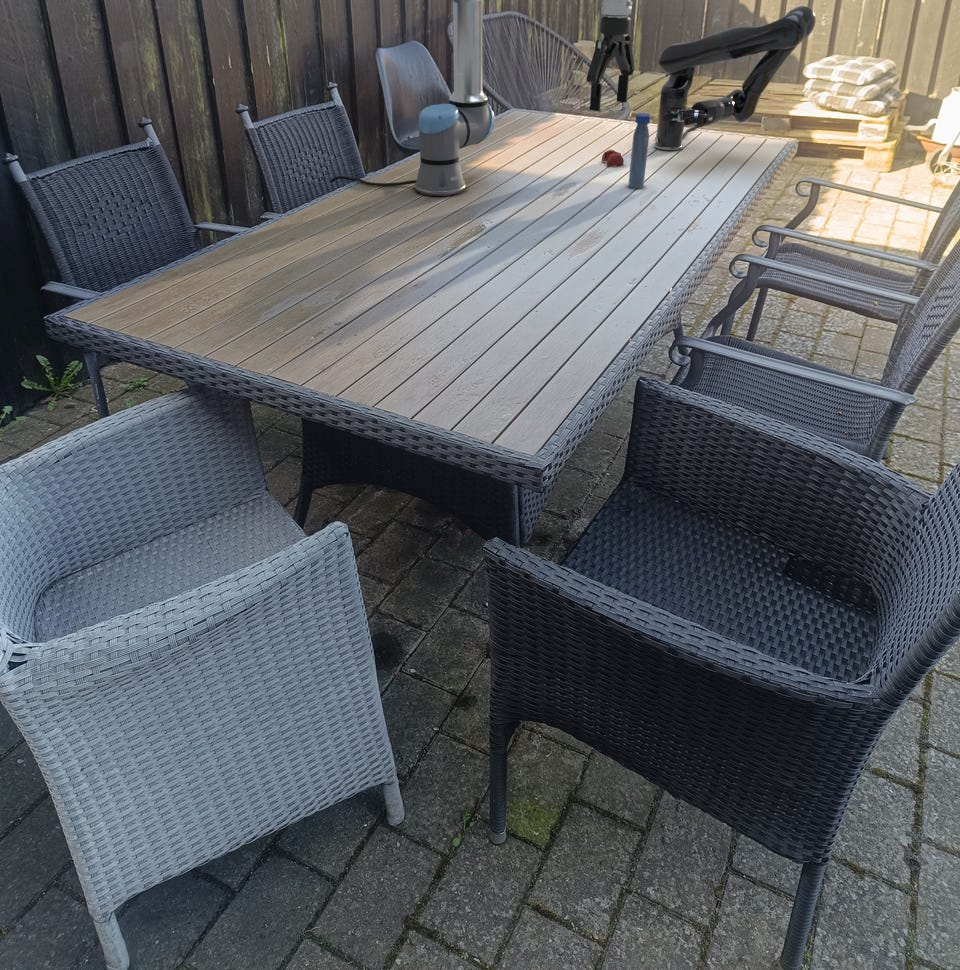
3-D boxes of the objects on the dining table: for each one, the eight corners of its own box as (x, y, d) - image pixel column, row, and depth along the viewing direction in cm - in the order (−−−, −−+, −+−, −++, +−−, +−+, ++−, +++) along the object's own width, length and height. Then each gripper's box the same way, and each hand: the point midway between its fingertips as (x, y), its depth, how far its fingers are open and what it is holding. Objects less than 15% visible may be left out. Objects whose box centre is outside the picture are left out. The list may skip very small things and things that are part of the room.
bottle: (624, 186, 262) (631, 115, 250) (636, 183, 264) (643, 113, 252) (635, 189, 258) (642, 118, 247) (646, 187, 261) (654, 116, 249)
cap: (632, 121, 251) (633, 114, 249) (642, 119, 253) (643, 112, 251) (642, 124, 248) (643, 117, 247) (652, 122, 250) (653, 115, 249)
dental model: (616, 146, 283) (625, 152, 277) (615, 159, 286) (624, 165, 280) (600, 148, 282) (609, 154, 276) (600, 161, 285) (608, 167, 279)
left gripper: (602, 22, 204) (595, 116, 216) (653, 12, 219) (644, 100, 232) (576, 19, 207) (570, 112, 220) (628, 10, 223) (620, 96, 236)
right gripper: (691, 97, 274) (658, 104, 266) (727, 103, 265) (693, 110, 256) (688, 122, 278) (655, 129, 270) (723, 128, 269) (690, 136, 261)
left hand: (608, 106), depth 226 cm, fingers open, 13 cm apart
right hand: (674, 120), depth 263 cm, fingers open, 8 cm apart
